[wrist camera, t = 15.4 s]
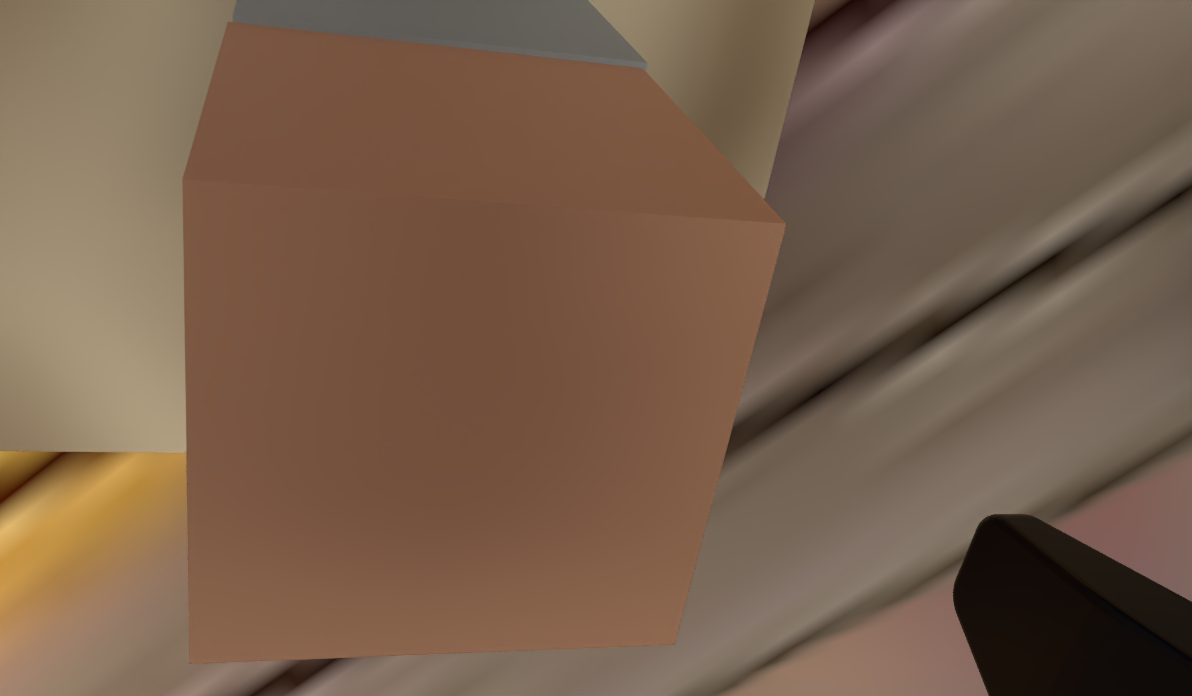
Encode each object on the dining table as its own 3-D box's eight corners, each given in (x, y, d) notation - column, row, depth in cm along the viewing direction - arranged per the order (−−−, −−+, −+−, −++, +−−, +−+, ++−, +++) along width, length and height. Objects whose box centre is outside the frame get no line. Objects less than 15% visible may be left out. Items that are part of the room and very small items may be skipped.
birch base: (844, -273, 18) (883, -272, 17) (679, 420, 25) (698, 458, 24) (-93, -473, 15) (-132, -491, 13) (1, 406, 21) (-18, 450, 20)
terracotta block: (643, 67, 14) (786, 224, 10) (581, 401, 16) (674, 645, 12) (227, 21, 12) (182, 180, 8) (225, 392, 15) (189, 663, 11)
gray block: (570, -19, 18) (648, 62, 14) (528, 255, 20) (584, 397, 16) (254, -62, 17) (232, 14, 12) (248, 238, 19) (229, 387, 15)
